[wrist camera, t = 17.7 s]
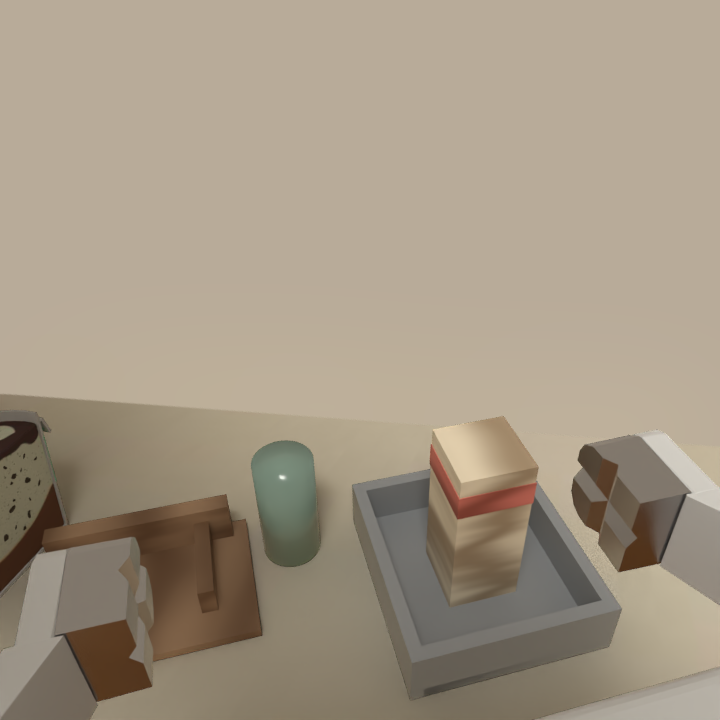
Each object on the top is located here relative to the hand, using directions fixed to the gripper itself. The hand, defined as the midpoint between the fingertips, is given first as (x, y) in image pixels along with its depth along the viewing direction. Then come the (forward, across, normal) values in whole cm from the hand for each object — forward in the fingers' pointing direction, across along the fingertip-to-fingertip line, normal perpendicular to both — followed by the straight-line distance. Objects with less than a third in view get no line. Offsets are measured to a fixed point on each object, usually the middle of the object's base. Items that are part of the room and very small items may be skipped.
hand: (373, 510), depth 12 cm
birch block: (+17, -11, +27) cm, 34 cm away
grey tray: (+17, -11, +28) cm, 35 cm away
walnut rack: (+21, +10, +28) cm, 36 cm away
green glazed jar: (+23, 0, +28) cm, 36 cm away
